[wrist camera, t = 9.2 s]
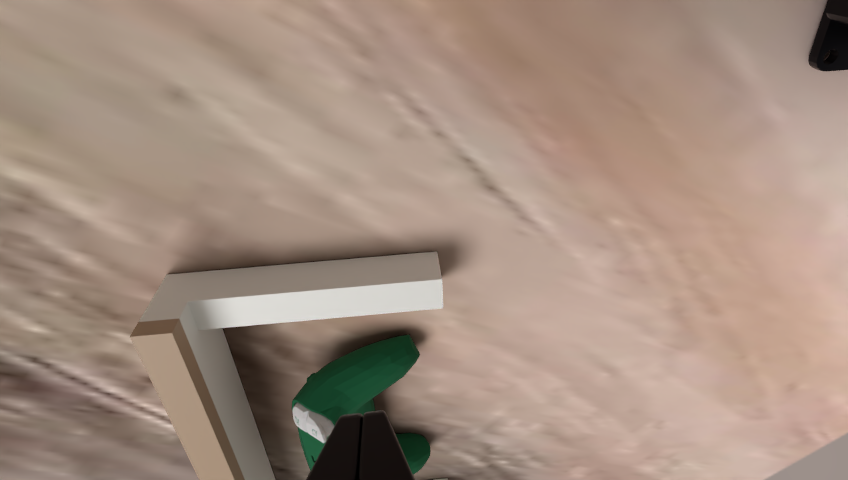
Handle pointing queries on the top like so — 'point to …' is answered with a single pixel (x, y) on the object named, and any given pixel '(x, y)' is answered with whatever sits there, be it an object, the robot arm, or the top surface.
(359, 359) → the gaming controller
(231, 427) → the frame
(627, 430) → the top surface
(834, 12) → the robot arm
